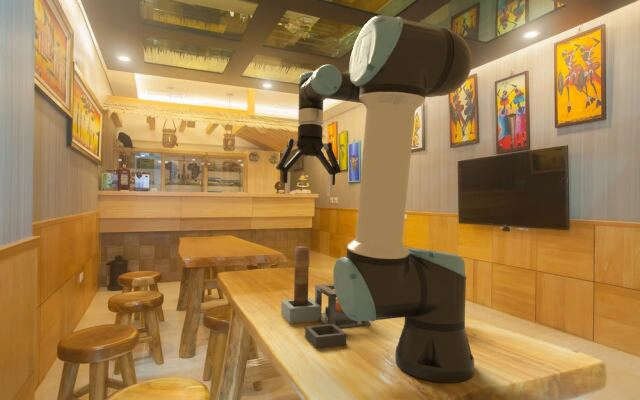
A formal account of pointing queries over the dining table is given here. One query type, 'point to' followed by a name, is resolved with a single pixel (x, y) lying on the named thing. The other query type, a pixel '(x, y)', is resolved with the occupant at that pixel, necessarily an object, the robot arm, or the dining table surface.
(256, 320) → the dining table surface
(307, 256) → the bar
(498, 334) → the dining table surface
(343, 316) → the guard frame
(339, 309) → the breaker button
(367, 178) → the robot arm
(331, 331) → the stand
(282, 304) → the grey square holder
